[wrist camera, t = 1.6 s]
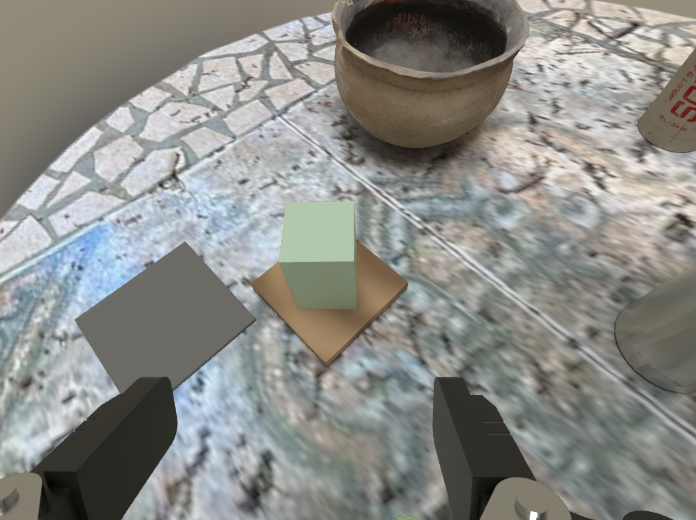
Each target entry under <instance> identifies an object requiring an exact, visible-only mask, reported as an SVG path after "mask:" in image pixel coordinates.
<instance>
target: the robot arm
mask: <svg viewBox="0 0 696 520" xmlns="http://www.w3.org/2000/svg"><path fill="white" fill-rule="evenodd" d="M615 335H616V340H617V343H618V346H619V348H620V351H621V352H622V354H623V356H624V357H625V359H626V360H627V362H628V363H629V364H630V365H631V366H632V367H633V368H634V370H635V371H637V372H638V373H639V374H640V375H641V376H643V377H644V378H645V379H647V380H648V381H650V382H652V383H653V384H655V385H657V386H659V387H661V388H664V389H666V390H669V391H674V392H678V393H695V392H696V264H694V265H693V266H691V267H690V268H688V269H686V270H685V271H683V272H682V273H680V274H678V275H677V276H675V277H674V278H672V279H670V280H669V281H667V282H666V283H664V284H662V285H661V286H659V287H658V288H656V289H654V290H652V291H651V292H649V293H648V294H646V295H644V296H643V297H641V298H640V299H638V300H637V301H635V302H633V303H632V304H630V305H629V306H627V307H626V308H625V309H623V310H622V312H621V313H620V314H619V316H618V318H617V321H616V324H615ZM176 432H177V415H176V409H175V403H174V397H173V391H172V385H171V381H170V379H169V378H168V377H140V378H138V379H137V380H136V381H135V382H134V383H133V384H132V385H131V386H130V387H129V388H128V389H127V390H126V391H125V392H124V393H123V394H119V395H117V396H116V397H114V398H112V399H111V400H109V401H107V402H106V403H104V404H102V405H101V406H100V407H99V408H98V409H97V410H96V411H95V412H93V413H92V414H91V415H90V416H89V417H88V418H87V421H84V422H83V423H82V424H81V425H80V426H79V427H78V428H76V430H75V432H72V433H71V434H70V435H69V436H68V437H67V438H66V439H65V440H64V441H63V442H62V443H61V444H59V445H58V446H57V447H56V448H55V449H54V450H53V451H52V452H51V453H50V454H49V455H48V456H47V457H46V458H45V459H44V460H42V461H41V462H40V463H39V464H38V465H37V466H36V467H35V468H34V469H33V470H32V471H31V472H30V473H20V474H15V475H11V476H8V477H5V478H3V479H0V520H121V519H122V517H123V516H124V514H125V513H126V511H127V510H128V508H129V507H130V505H131V504H132V502H133V501H134V499H135V498H136V496H137V495H138V493H139V492H140V490H141V489H142V487H143V486H144V484H145V483H146V481H147V480H148V479H149V477H150V476H151V474H152V473H153V471H154V470H155V468H156V467H157V465H158V464H159V462H160V461H161V459H162V458H163V456H164V455H165V453H166V452H167V450H168V449H169V447H170V446H171V444H172V442H173V440H174V438H175V435H176ZM433 437H434V443H435V448H436V451H437V455H438V459H439V463H440V467H441V471H442V474H443V478H444V482H445V486H446V490H447V494H448V497H449V501H450V505H451V509H452V513H453V517H454V520H593V519H589V518H586V517H583V516H580V515H577V514H575V513H573V512H571V511H569V510H568V508H567V506H566V505H565V503H564V502H563V501H562V500H561V498H560V497H559V496H558V495H557V494H555V493H554V492H553V491H552V490H550V489H549V488H547V487H546V486H544V485H542V484H540V483H538V482H537V481H536V479H535V477H534V476H533V474H532V472H531V470H530V468H529V467H528V465H527V463H526V461H525V459H524V457H523V456H522V454H521V452H520V450H519V448H518V446H517V445H516V443H515V441H514V439H513V437H512V436H510V432H509V430H508V428H507V426H506V425H505V424H504V422H503V419H502V417H501V416H500V414H499V412H498V410H497V408H496V407H495V406H494V405H493V404H492V403H491V402H489V401H488V400H487V399H486V398H485V397H484V396H482V395H470V393H469V391H468V389H467V387H466V385H465V383H464V380H463V379H462V378H461V377H436V378H435V382H434V401H433ZM623 520H673V519H671V518H668V517H666V516H663V515H661V514H658V513H654V512H649V511H633V512H630V513H628V514H627V515H625V516H624V518H623Z"/></svg>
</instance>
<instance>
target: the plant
mask: <svg viewBox="0 0 696 520" xmlns="http://www.w3.org/2000/svg"><path fill="white" fill-rule="evenodd" d="M392 520H418V519H417V518H415V517H413V516H411V515H409V514H407V513H403V514H402V515H400V516H398V517H396V518H394V519H392Z"/></svg>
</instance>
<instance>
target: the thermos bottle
mask: <svg viewBox="0 0 696 520" xmlns="http://www.w3.org/2000/svg"><path fill="white" fill-rule="evenodd" d="M638 127H639V131H640V133H641V134H642V135H643V137H644V138H645V139H646V140H647V141H649V142H650V143H652V144H653V145H655V146H657V147H659V148H662V149H665V150H668V151H673V152H690V151H693V150H696V48H695V49H694V51H693V52H692V53H691V55H690V56H689V57H688V58H687V60H686V61H685V62H684V64H683V65H682V66H681V67H680V69H679V70H678V71H677V72H676V74H675V75H674V76H673V78H672V79H671V80H670V81H669V83H668V84H667V85H666V87H665V88H664V89H663V91H662V92H661V93H660V94H659V96H658V97H657V98H656V99H655V101H654V102H653V103H652V104H651V106H650V107H649V108H648V109H647V111H646V112H645V113H644V115H643V116H642V117H641V119H640V120H639V124H638Z"/></svg>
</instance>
